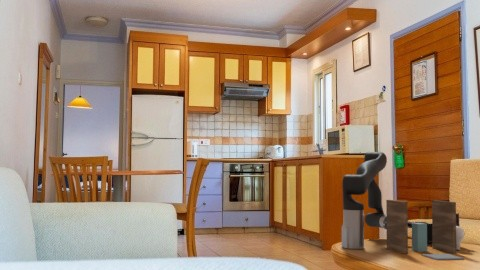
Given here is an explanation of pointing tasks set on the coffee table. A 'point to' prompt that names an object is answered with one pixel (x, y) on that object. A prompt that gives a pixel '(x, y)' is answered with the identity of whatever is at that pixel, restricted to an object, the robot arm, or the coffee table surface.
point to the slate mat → (442, 257)
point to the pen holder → (428, 232)
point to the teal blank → (419, 237)
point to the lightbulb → (459, 236)
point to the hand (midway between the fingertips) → (406, 226)
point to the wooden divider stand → (440, 226)
